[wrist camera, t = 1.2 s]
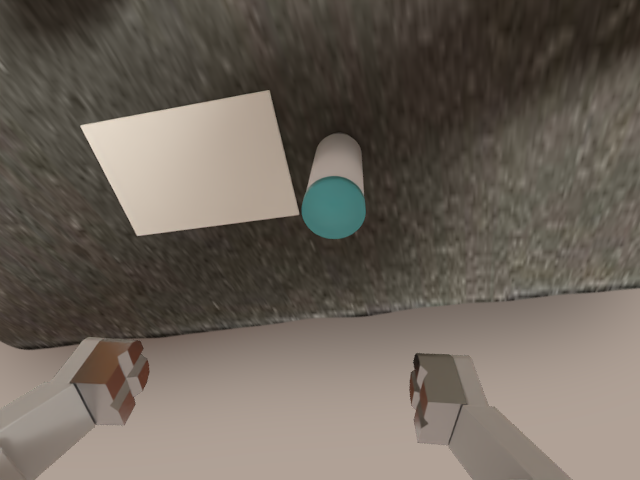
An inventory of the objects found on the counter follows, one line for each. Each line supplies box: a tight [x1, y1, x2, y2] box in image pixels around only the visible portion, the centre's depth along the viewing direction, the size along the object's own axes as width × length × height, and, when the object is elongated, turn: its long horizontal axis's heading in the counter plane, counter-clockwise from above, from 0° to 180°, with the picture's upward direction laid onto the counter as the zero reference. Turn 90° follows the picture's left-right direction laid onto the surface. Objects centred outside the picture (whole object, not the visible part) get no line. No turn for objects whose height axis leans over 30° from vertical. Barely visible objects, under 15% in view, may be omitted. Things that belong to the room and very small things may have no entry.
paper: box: [80, 90, 300, 236], centre depth 36 cm, size 18×12×1 cm, turn 100°
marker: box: [302, 132, 366, 239], centre depth 29 cm, size 4×4×12 cm
